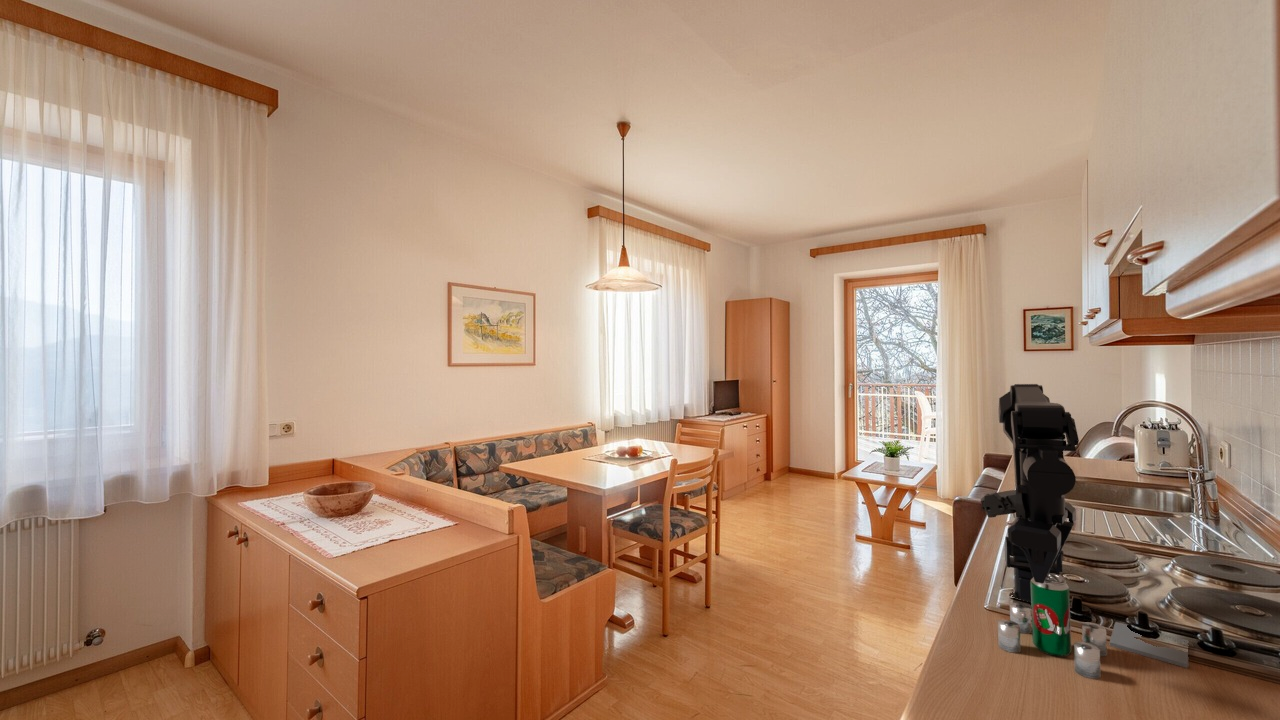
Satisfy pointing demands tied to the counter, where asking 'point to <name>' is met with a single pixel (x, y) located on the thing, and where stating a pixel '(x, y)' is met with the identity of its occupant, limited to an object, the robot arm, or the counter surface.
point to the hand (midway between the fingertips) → (1044, 572)
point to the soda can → (1051, 615)
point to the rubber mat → (1146, 646)
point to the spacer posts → (1083, 651)
